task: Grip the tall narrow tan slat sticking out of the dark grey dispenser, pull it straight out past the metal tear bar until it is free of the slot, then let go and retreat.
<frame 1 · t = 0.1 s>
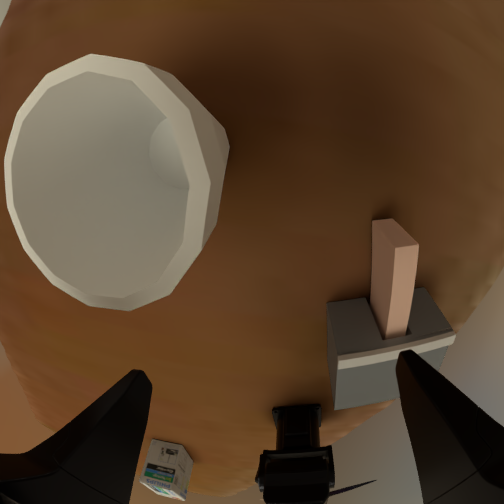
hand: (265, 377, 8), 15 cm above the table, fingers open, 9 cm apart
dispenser: (375, 327, 25), on the table
light bulb box: (174, 450, 45), on the table
foam cup: (188, 149, 20), on the table
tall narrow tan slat: (390, 289, 20), point 3 cm above the table, slide at 0.0 cm
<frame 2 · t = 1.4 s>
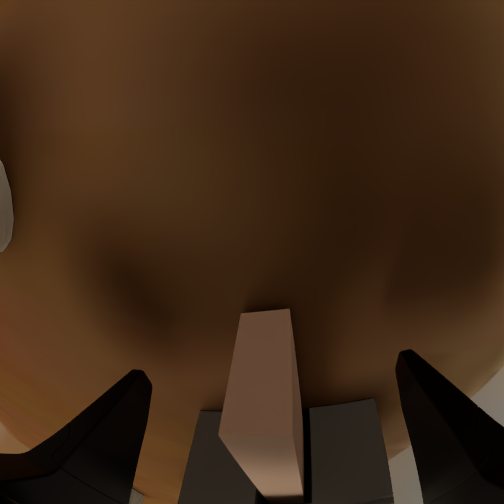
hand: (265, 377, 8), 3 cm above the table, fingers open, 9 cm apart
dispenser: (291, 438, 15), on the table
light bulb box: (121, 484, 34), on the table
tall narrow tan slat: (279, 433, 10), point 3 cm above the table, slide at 0.0 cm
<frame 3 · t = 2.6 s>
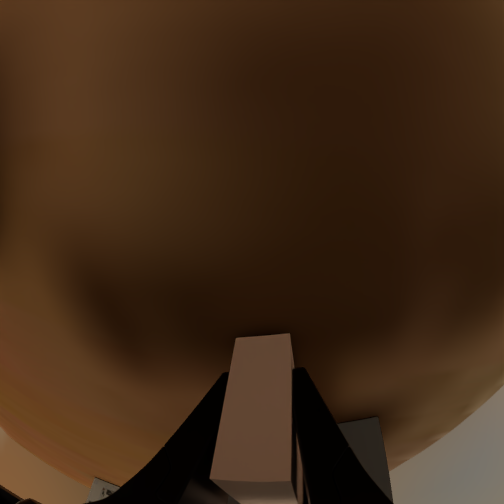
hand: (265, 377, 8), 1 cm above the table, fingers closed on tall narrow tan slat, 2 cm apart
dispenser: (290, 454, 14), on the table
light bulb box: (120, 488, 33), on the table
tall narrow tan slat: (278, 459, 9), point 3 cm above the table, slide at 0.0 cm, touching gripper
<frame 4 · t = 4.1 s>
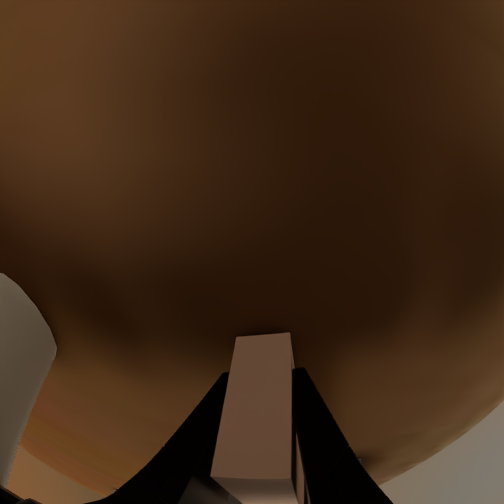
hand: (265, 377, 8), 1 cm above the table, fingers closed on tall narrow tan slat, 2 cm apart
foam cup: (20, 317, 11), on the table
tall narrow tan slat: (278, 457, 9), point 3 cm above the table, slide at 7.0 cm, touching gripper
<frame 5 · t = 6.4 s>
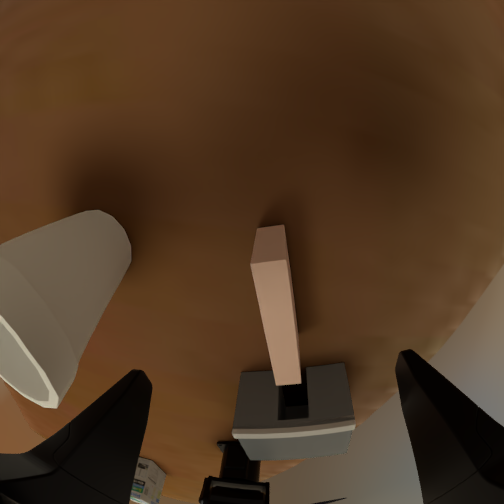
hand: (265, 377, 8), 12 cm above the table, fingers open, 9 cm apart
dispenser: (295, 391, 26), on the table
light bulb box: (147, 463, 46), on the table
foam cup: (101, 244, 21), on the table
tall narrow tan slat: (280, 310, 18), point 3 cm above the table, slide at 7.0 cm
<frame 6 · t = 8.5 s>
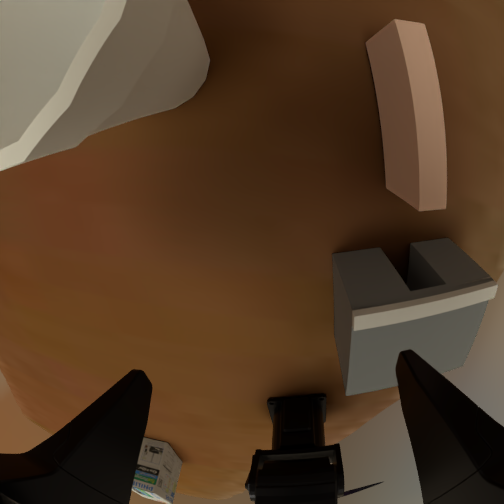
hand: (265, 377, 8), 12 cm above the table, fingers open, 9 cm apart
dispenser: (392, 289, 20), on the table
light bulb box: (160, 448, 40), on the table
foam cup: (164, 67, 15), on the table
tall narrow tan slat: (408, 113, 12), point 3 cm above the table, slide at 7.0 cm
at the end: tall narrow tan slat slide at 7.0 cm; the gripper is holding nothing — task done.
